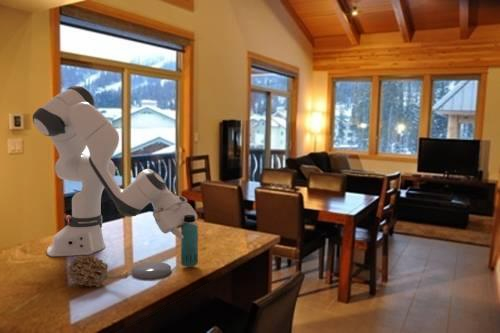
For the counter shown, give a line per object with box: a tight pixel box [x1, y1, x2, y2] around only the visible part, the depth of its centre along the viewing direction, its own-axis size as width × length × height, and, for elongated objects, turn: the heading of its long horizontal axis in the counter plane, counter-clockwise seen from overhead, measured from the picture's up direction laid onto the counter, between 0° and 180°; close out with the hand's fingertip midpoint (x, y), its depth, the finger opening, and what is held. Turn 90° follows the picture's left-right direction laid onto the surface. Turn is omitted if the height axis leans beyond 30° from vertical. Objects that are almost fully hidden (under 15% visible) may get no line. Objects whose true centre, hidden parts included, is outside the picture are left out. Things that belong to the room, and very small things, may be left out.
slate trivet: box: [130, 261, 172, 280], centre depth 152 cm, size 14×14×1 cm
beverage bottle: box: [180, 215, 199, 268], centre depth 156 cm, size 6×7×20 cm
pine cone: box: [67, 255, 130, 288], centre depth 138 cm, size 22×10×10 cm, turn 82°
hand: (189, 235), depth 155 cm, fingers open, 8 cm apart
